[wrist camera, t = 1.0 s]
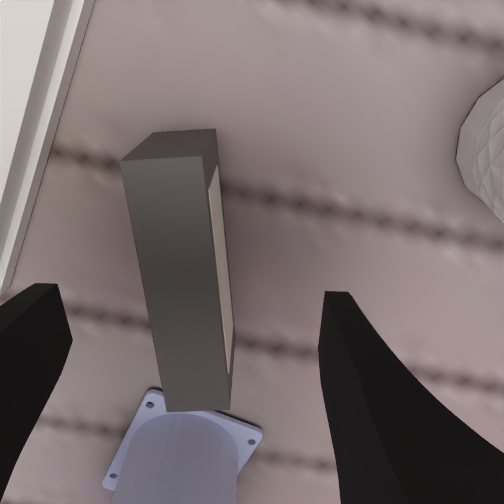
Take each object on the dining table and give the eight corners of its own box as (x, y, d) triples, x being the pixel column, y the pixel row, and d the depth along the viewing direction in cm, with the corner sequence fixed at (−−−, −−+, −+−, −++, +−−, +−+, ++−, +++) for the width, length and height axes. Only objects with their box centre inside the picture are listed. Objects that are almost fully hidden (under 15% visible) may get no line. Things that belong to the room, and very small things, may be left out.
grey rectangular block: (236, 335, 27) (230, 409, 21) (184, 337, 27) (165, 412, 21) (216, 128, 22) (203, 156, 16) (152, 132, 22) (118, 161, 16)
